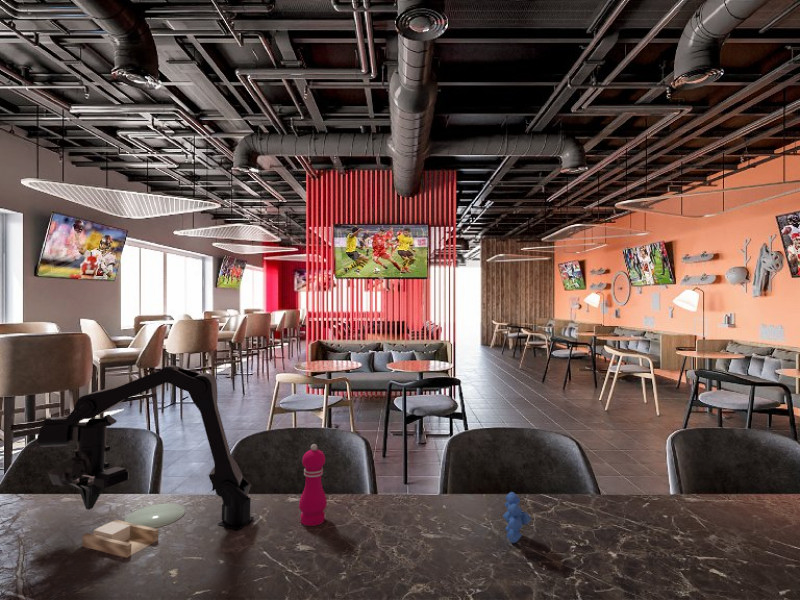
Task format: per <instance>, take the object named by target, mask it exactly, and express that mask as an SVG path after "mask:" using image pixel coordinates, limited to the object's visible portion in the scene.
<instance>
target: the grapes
mask: <svg viewBox="0 0 800 600" xmlns="http://www.w3.org/2000/svg"><path fill="white" fill-rule="evenodd" d="M505 500H506V502H505V503H504V506H505V508H506V509H507V510H506V511H505V513H504V514H503V516H502V517H503V520H504V521H506V524H507V525H506V527H505V528H504V529H505V531H506V532H507V533H506V535H505V536H506V538H507V539H508V541H509V542H510V543H512V544H516V543H517V542H518V541H519V540H520V539H521V537H522V535H523V534H522V533H521V532H520V530H521V529H522V527H523V526H526V525H528V524H529V523H530V521H531V520H532V517H531V516H530V514H529V513H528V512H526V511H524V510H523V509H522V508H521V506H520V505H519V504H520V503H521V499H520V498H519V496H518V495H517V494H516V493H515V492H513V491H510V492H508V493H507V495H506V496H505Z"/></svg>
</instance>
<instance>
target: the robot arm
mask: <svg viewBox="0 0 800 600" xmlns="http://www.w3.org/2000/svg"><path fill="white" fill-rule="evenodd" d="M167 383H168V384H170V385H172V386H174V387H176V388H178V389H180V390H183V391H185V392H188V394H189V397H190V398H191V400H192V402H193V404H194V405H195V406H196V408H197V410H198V411H199V412H200V417H201V419H202V424H203V428H204V431H205V434H206V438H207V442H208V444H209V449H210V453H211V455H212V460H213V463H214V464H213V465H214V467H213V468H212V469H211V471H210V473H209V474H208V478H209V480H210V482H211V484H212V485H211V486H212V488H211V491H212V492H214V491H215V493H216V495H217V496H218V497H221V499H222V504H221V521H220V522H218V523H217V526H219V527H223V528H225V529H226V528H227V529H231V530H237V531H239V530H240V529H242V528H244V527H245V526H247V525H248V524H249V523H251V522H252V521H254V520H255V517H254V516H251V497H250V496H248V495H249V491H250V488H251V486H252V485H251V483H250V482H249V481H248V480H247V479H246V478H245V477H244V476H243V473H242V471H241V468H240V467H239V465H238V463H237V461H235V458H233V455H232V454H231V450H230V448H229V442H228V439H227V435H226V432H225V428H224V425H223V421H222V417H221V415H220V410H219V407H218V394H219V393H218V382H217V378H216V377H215V375H213V374H212V373H208V372H203V373H202V372H201V373H200V372H196V371H193V370H189V369H184V368H182V367H180V366H178V365H176V364H175V365H173V364H171V365H167V366H164V367H162V368H161V369H159V370H157V371H155V372H152V373H150V374H147V375H144V376H142V377H139V378H136V379H134V380H132V381H129V382H127V383H124V384H122V385H119V386H115V387H109V388H105V389H101V390H97V391H94V392H90V393H87V394H85V395H83V396H82V395H81V396H79V398H78V399H76V402H75V405H74V409H73V410H72V411H71V412H70V414H68V416H67V417H57V416H50V417H47V418H44V419H43V425H42V426H41V427H40V428H39V429H40V430H39V432H38V434H37V437H36V439H37V444H38V446H39V447H41V448H47V447H49V448H50V447H51V448H52V447H64V446H65V447H66V446H71V445H72V444H73V443H74V442H76V441H77V445H76V446H77V449H74V450H73V449H72V452H71V455H70V456H71V457H70V459H67V460H65V461H63V462H62V463H60V464H58V465H56V466H55V467H54V468H52V469H50V470H49V471H48V472H47V473H48V476H49V479H50V482H51V483H52V485H53V486H56V485H57V486H60V487H66V486H68V485H71V486H74V487H75V488H77V490H78V492H79V494H80V496H81V499H82V503H83V505H84V506H85V509H86V510H88V511H89V510H90V511H91V510H92V509H94V507H95V505H96V503H97V501H98V499H99V497H100V495H101V494H102V492H103V490H104V489H106V488H110V487H112V486H115V485H117V484H120V483H124V482H125V481H128V480H129V478H130V474H129V473H130V471H129V469H127V468H125V467H118V466H114V467H111V468H109V467H110V462H106V456H107V455H106V452H108V451H111V446H110V445H107V430H108V429H107V427H110V426H112V425H115V424H116V423H117V422H118V421H117V419H116V418H114V417H112V416H111V414H106V415H104V416H103V417H98V416H99V415H102V414H103V413H105V412H107V411H109V410H110V409H112V408H114V407H115V406H118V404H120V403H122V402H124V401H125V400H128V399H129V398H132V397H134V396H137V395H139V394H142V393H144V392H147V391H148V390H151V389H154V388H156V387H159V386H162V385H165V384H167ZM95 417H97V418H95ZM83 420H87V421H84V422H83ZM106 468H107V469H106ZM253 519H254V520H253ZM251 520H252V521H251ZM250 521H251V522H250Z"/></svg>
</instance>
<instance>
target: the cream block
mask: <svg viewBox="0 0 800 600" xmlns="http://www.w3.org/2000/svg"><path fill="white" fill-rule="evenodd" d="M92 534H94V535H98V536H102V537H106V538H110V539H114V540H118V541H122V542H124V541H126V540H127V539H129V538H130V525H125V524H121V523H117V522H112V521H110V522H107V523H105V524H104V525H101V526H100V527H97V528H95V529H93V533H92Z"/></svg>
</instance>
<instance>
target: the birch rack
mask: <svg viewBox="0 0 800 600" xmlns="http://www.w3.org/2000/svg"><path fill="white" fill-rule="evenodd" d="M111 522H117V523H121V524H125V525H130V538H129V539H127V540H126V541H124V542H122V541H118V540H114V539H110V538H106V537H102V536H98V535H94V534H93V533H89V532H86V533H84V534H82V544H81V545H82V547H83V548H88V549H92V550H96V551H99V552H103V553H107V554H111V555H115V556H119V557H123V558H129V557H131V556H133V555H135V554H137V553H138V552H140V551H142V550H144V549H145V548H147V547H148V546H151V545H152V544H154V543H155V542H158V541H159V528H151V527H146V526H142V525H137V524H133V523H128V522H125V520H124V521H123V520H119V519H115V520H112V521H111Z"/></svg>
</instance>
